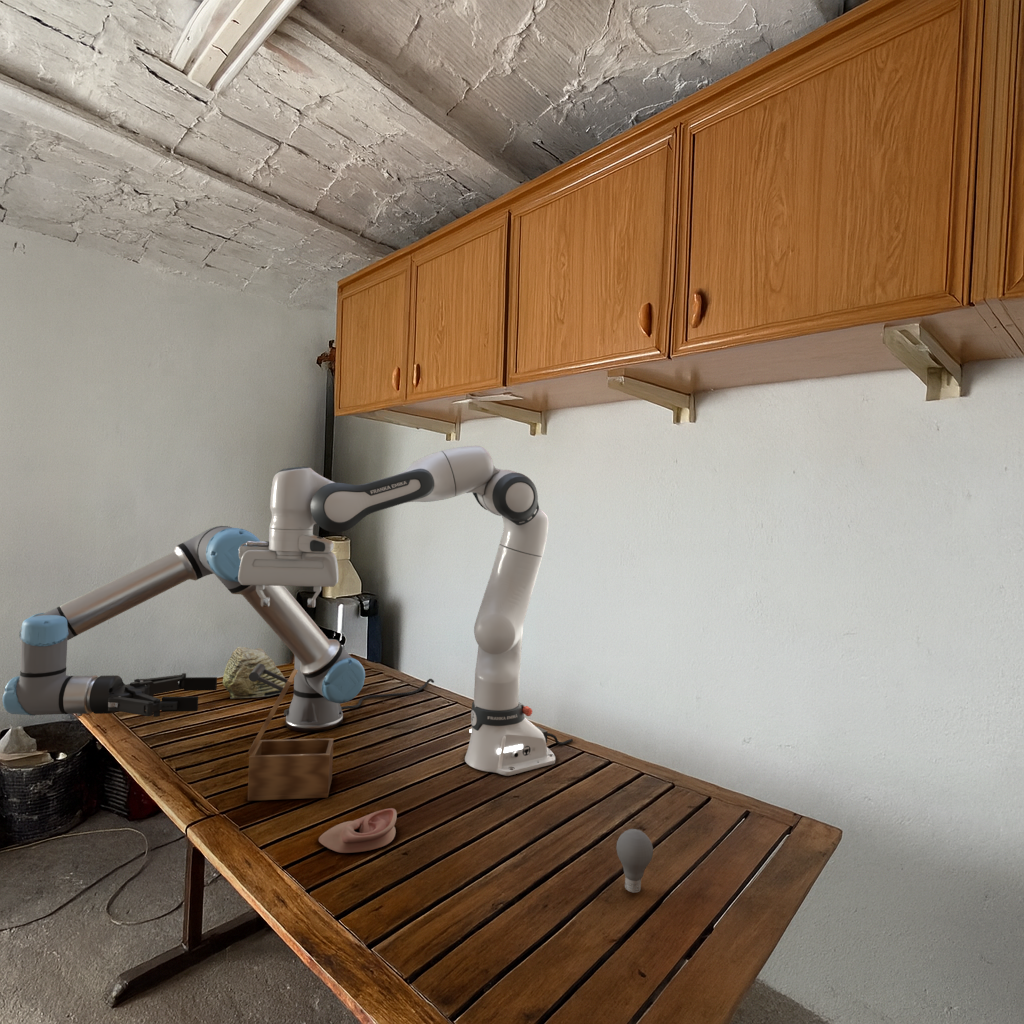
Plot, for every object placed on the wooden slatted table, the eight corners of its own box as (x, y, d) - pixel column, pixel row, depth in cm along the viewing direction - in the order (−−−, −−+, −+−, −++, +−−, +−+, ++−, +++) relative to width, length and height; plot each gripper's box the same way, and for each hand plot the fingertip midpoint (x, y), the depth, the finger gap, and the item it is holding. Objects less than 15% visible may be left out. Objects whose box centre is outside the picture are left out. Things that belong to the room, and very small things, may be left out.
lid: (298, 670, 141) (263, 654, 139) (291, 682, 132) (254, 665, 130) (260, 738, 140) (225, 722, 138) (251, 755, 130) (213, 738, 129)
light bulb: (610, 879, 108) (613, 822, 108) (644, 879, 109) (647, 822, 109) (619, 902, 102) (622, 840, 102) (655, 901, 103) (658, 840, 103)
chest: (331, 778, 143) (333, 738, 142) (327, 797, 134) (329, 754, 133) (257, 781, 140) (258, 739, 140) (247, 801, 131) (249, 757, 130)
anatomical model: (310, 826, 114) (340, 797, 125) (309, 848, 114) (339, 817, 125) (379, 837, 111) (403, 806, 122) (378, 859, 111) (403, 827, 123)
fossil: (218, 695, 195) (220, 647, 195) (278, 685, 208) (279, 640, 207) (228, 703, 189) (230, 653, 188) (289, 692, 201) (290, 645, 201)
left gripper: (121, 693, 141) (222, 692, 145) (64, 735, 117) (187, 732, 121) (122, 660, 141) (223, 660, 145) (65, 695, 117) (189, 693, 121)
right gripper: (235, 541, 130) (233, 608, 130) (338, 544, 134) (335, 609, 134) (242, 539, 136) (240, 603, 137) (340, 542, 140) (338, 604, 140)
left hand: (207, 693), depth 133 cm, fingers open, 13 cm apart
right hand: (288, 606), depth 135 cm, fingers open, 8 cm apart
